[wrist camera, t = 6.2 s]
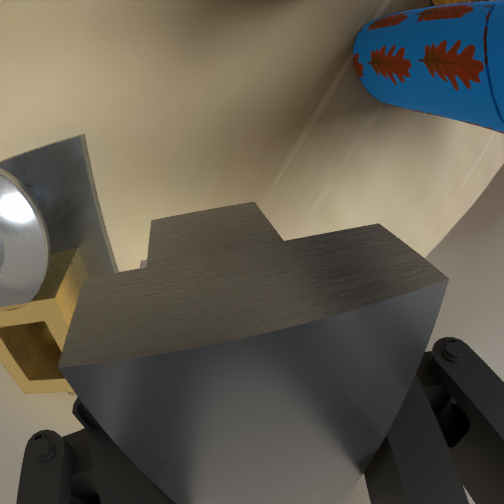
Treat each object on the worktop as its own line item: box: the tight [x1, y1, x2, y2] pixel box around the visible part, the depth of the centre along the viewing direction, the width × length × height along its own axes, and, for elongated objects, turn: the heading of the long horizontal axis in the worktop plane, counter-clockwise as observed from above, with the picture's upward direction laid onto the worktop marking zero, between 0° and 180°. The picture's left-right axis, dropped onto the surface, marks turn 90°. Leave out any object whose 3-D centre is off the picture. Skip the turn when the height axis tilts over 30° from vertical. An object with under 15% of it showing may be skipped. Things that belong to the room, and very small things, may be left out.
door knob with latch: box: [0, 134, 119, 395], centre depth 22 cm, size 26×16×18 cm, turn 5°
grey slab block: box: [58, 202, 449, 504], centre depth 9 cm, size 10×4×10 cm, turn 5°
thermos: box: [353, 0, 504, 133], centre depth 17 cm, size 11×11×25 cm
